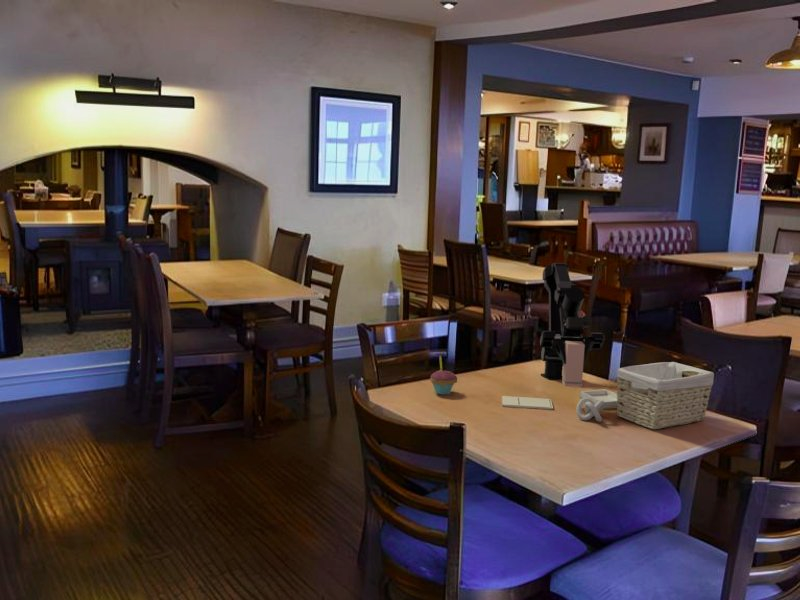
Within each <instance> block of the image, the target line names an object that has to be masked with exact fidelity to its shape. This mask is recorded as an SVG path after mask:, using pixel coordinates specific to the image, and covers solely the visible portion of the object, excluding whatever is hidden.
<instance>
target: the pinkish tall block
mask: <svg viewBox="0 0 800 600" xmlns="http://www.w3.org/2000/svg"><path fill="white" fill-rule="evenodd" d="M584 348H585V345H584V343H583V342H582V341H565V349H564V350H565V355H566V364H564V363H563V370H562V376H563V378H562V379H561V381H562V382H561V383H562V385H563V386H564V387H566V388H567V387H573V388H582V387H583V373H584V365H583V362H584Z"/></svg>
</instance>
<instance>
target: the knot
mask: <svg viewBox="0 0 800 600" xmlns="http://www.w3.org/2000/svg"><path fill="white" fill-rule="evenodd" d="M604 405H605V402H604V401H602V400H601V401H599V402H597V403H596V405H595V403H594V401H593V400H592V399H590V398H583V399H581V398H580V400H579V401H578V402H577V404H576V409H575V410H576V415H577V417H578V419H579V420H581V421H585V422H586V421H590V420H591V419H592V418H593V417H595V419H596V421H597V422H598V423H601V422H603V418H602V416H601V414H600V412H601V411H603V410H604V409H603V407H604ZM583 406H584V407H583ZM582 408H584V414H585V415H584V414H583V411H582Z"/></svg>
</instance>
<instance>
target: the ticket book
mask: <svg viewBox="0 0 800 600" xmlns="http://www.w3.org/2000/svg"><path fill="white" fill-rule="evenodd" d="M501 407H506V408H507V407H509V408H522V409H523V408H525V409H535V408H537V409H538V410H539V409H540V410H551V409H553V410H554V407H553V403H552V399H551V398H539V397H526V396H525V397H524V396H523V397H522V396H511V395H510V396H508V395H501ZM537 409H536V410H537Z"/></svg>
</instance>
